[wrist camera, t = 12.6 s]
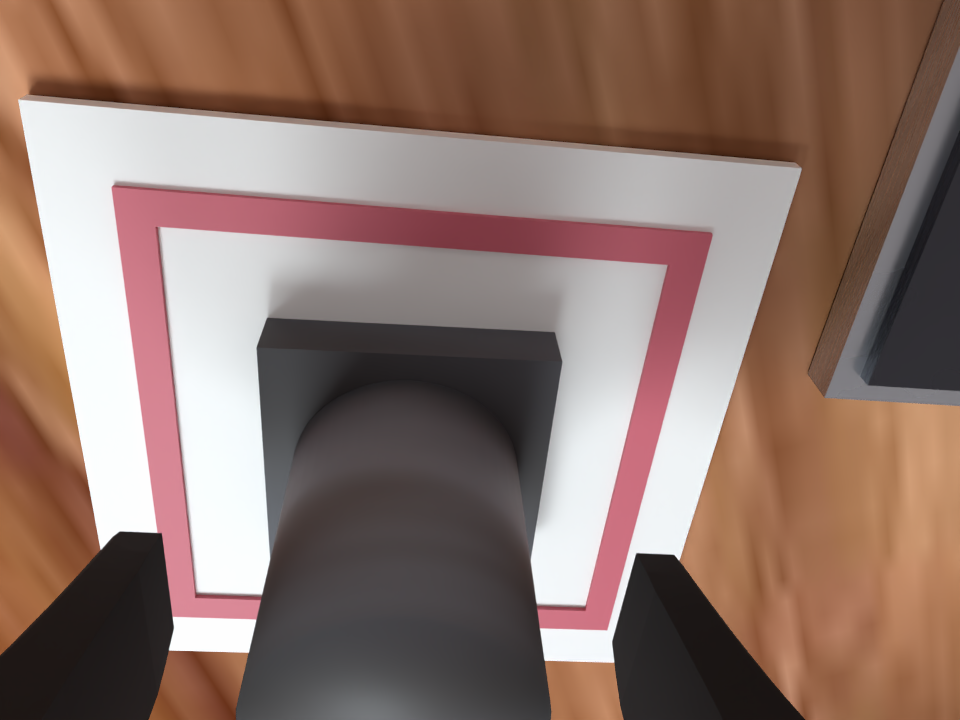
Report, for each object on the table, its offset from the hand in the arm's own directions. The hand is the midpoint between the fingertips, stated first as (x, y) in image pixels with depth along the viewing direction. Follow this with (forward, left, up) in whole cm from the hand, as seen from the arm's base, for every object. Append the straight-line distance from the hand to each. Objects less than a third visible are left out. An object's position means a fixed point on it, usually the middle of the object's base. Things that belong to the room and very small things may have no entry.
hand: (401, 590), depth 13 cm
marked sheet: (0, 0, -4) cm, 4 cm away
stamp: (0, 0, -4) cm, 4 cm away
